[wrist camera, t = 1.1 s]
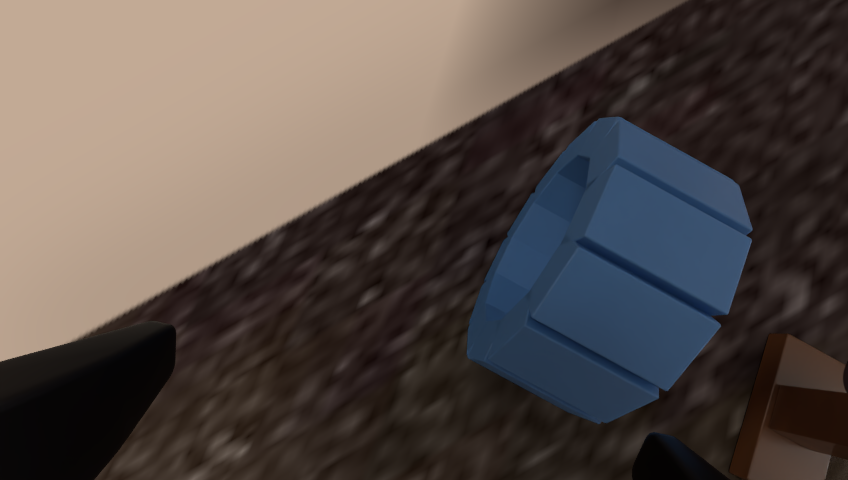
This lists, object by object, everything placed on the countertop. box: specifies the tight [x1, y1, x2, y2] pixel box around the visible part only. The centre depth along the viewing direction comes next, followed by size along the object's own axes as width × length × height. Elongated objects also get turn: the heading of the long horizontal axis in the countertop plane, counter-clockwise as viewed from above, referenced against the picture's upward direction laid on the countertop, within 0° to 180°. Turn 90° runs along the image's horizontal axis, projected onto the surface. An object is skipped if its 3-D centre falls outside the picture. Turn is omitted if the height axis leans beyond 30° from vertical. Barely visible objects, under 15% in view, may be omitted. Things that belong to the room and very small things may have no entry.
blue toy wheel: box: [467, 117, 752, 424], centre depth 18 cm, size 11×5×11 cm, turn 152°
